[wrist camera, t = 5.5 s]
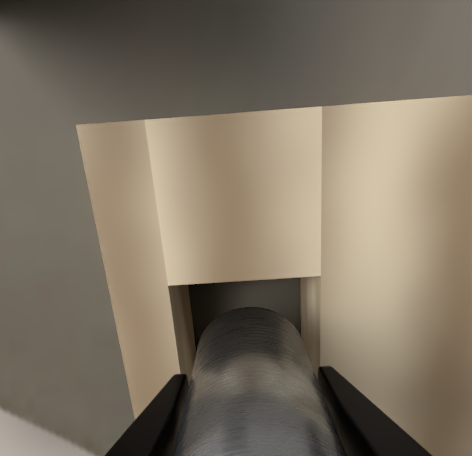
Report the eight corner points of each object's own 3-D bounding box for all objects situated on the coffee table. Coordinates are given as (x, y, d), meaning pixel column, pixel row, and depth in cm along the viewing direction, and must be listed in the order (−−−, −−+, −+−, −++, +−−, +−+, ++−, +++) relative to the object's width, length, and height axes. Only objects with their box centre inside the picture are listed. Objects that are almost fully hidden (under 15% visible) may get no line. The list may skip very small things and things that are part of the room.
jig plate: (564, 104, 10) (691, 78, 7) (503, 395, 14) (574, 456, 11) (119, 137, 11) (76, 125, 8) (165, 413, 14) (146, 477, 11)
